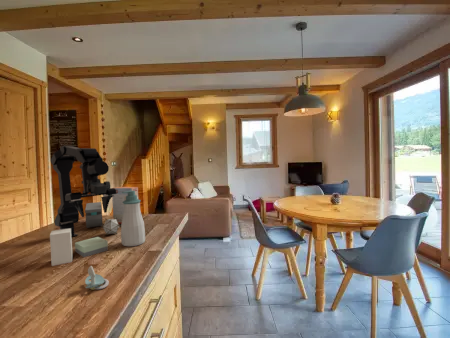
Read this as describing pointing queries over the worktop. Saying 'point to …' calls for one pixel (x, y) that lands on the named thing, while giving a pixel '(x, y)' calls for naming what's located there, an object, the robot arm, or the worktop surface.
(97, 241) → the slab upper
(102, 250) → the slab lower
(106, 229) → the game die
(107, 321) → the worktop surface
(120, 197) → the cracker box
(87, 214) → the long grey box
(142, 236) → the soap bottle
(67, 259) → the post
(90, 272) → the pacifier
